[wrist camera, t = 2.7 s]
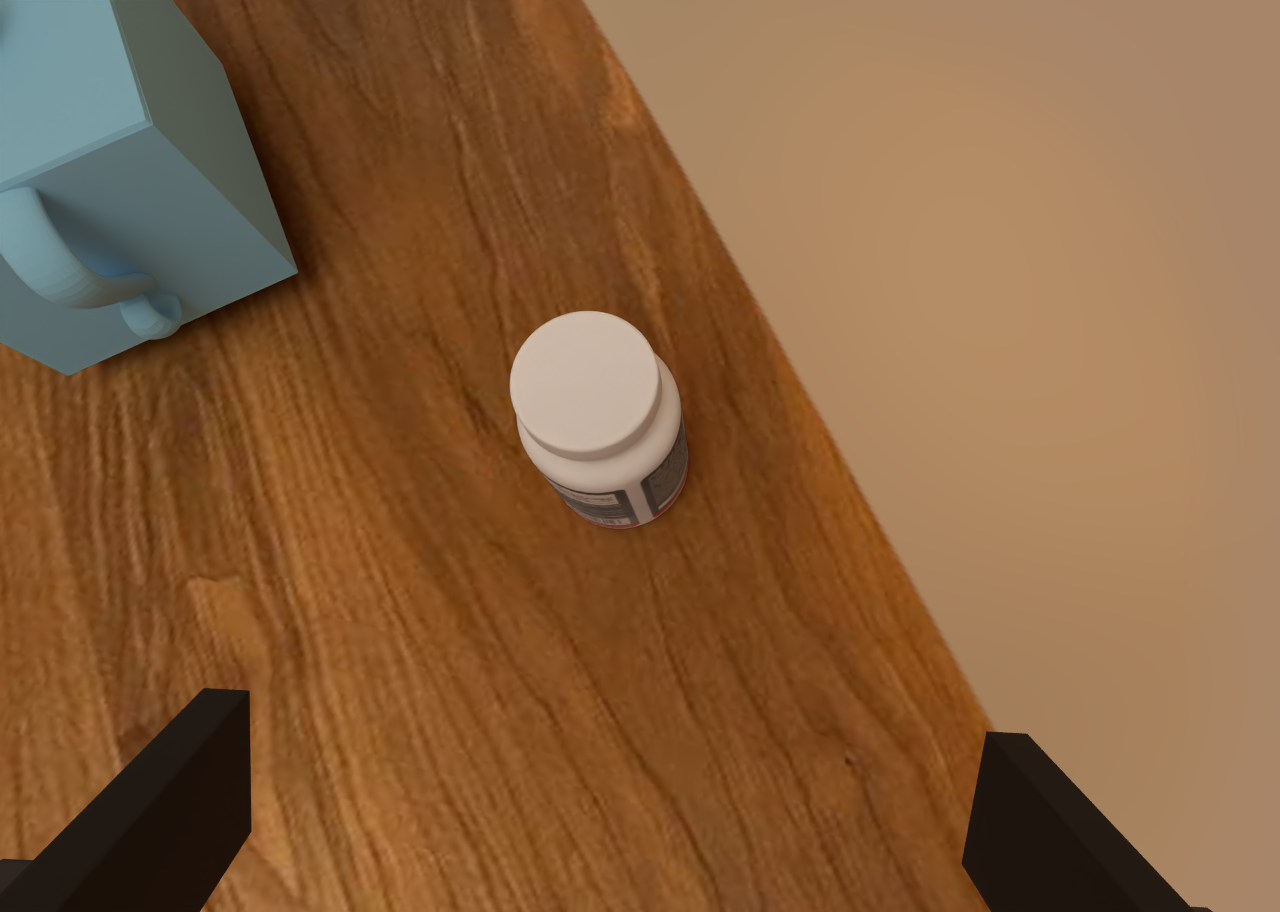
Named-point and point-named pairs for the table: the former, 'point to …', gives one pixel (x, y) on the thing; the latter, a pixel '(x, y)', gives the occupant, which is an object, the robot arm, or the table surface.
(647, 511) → the pill bottle
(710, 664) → the table surface
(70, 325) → the teapot
